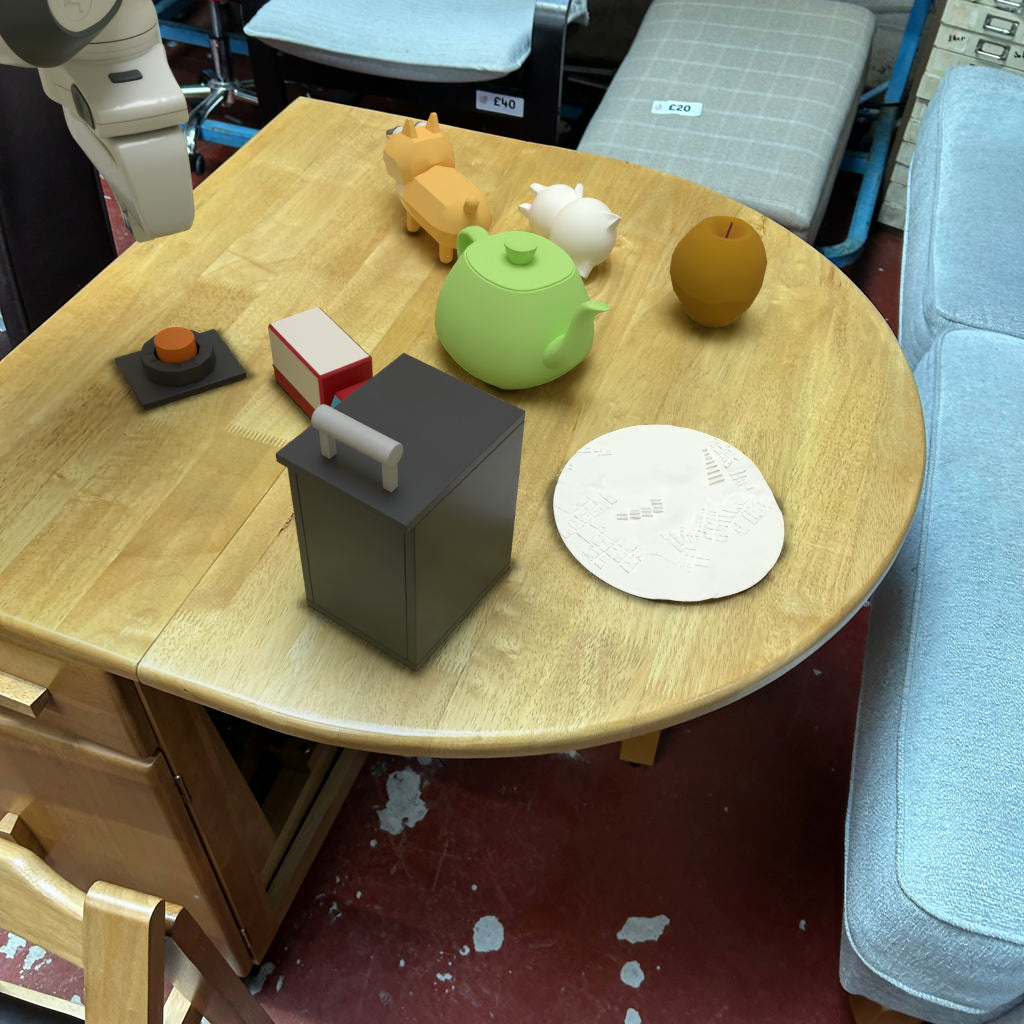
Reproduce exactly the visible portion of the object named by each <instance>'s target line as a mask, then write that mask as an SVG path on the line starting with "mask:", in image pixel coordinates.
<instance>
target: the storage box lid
mask: <svg viewBox="0 0 1024 1024" xmlns="http://www.w3.org/2000/svg"><path fill="white" fill-rule="evenodd" d="M524 420H526V410H525V409H523V408H521V407H518V406H516V405H514V404H512V403H510V402H508V401H507V400H504V399H502V398H501V397H498V396H495V395H493V394H491V393H490V392H487V391H485V390H483V389H481V388H478V387H477V386H474V385H472V384H470V383H468V382H466V381H464V380H462V379H460V378H458V377H456V376H453V375H451V374H450V373H448V372H445V371H443V370H441V369H439V368H437V367H435V366H433V365H431V364H429V363H427V362H424V361H422V360H420V359H418V358H416V357H414V356H412V355H410V354H408V353H406V352H402V353H401V354H400V355H399V356H397V357H396V358H395V359H393V360H392V361H391V362H389V364H387V365H386V366H384V368H382V369H381V370H380V371H378V372H377V373H375V375H373V377H372V378H371V379H370V380H368V381H367V382H366V383H364V384H363V385H362V386H361V387H359V388H358V389H357V390H356V391H354V392H353V393H352V394H350V395H349V396H348V397H347V398H345V399H344V400H343V401H341V402H340V403H339V404H338V405H336V406H335V407H334V408H331V407H329V406H327V405H325V404H323V405H320V406H319V407H317V408H316V410H315V411H314V413H313V415H312V418H310V423H311V424H310V425H309V426H308V427H307V428H306V429H304V430H303V431H302V432H301V433H299V434H298V435H296V436H295V437H294V438H293V439H291V440H290V441H289V442H288V443H286V444H285V445H284V446H283V447H281V448H280V449H279V450H278V451H276V453H275V460H276V463H278V464H280V465H281V466H283V467H286V468H289V469H291V470H292V471H294V472H296V473H298V474H300V475H301V476H303V477H305V478H307V479H308V480H310V481H312V482H314V483H316V484H317V485H319V486H321V487H323V488H325V489H326V490H328V491H330V492H332V493H334V494H335V495H337V496H339V497H341V498H343V499H344V500H346V501H348V502H350V503H352V504H353V505H355V506H357V507H359V508H360V509H362V510H364V511H366V512H368V513H369V514H371V515H373V516H375V517H377V518H378V519H380V520H382V521H384V522H386V523H387V524H389V525H391V526H393V527H395V528H396V529H398V530H400V531H402V532H403V533H405V534H407V533H408V532H409V531H410V530H412V529H413V528H414V527H415V526H416V525H417V524H418V523H419V522H420V521H421V520H422V519H423V518H424V517H425V516H426V515H427V514H428V513H429V512H430V511H431V510H432V509H433V508H434V507H435V506H436V505H437V504H438V503H439V502H440V501H441V500H442V499H443V498H444V497H445V496H446V495H447V494H449V493H450V492H451V491H452V490H453V489H454V488H455V487H456V486H457V485H458V484H459V483H460V482H461V481H462V480H463V479H464V478H465V477H466V476H467V475H468V474H469V473H470V472H471V471H472V470H473V469H474V468H475V467H476V466H477V465H478V464H479V463H480V462H481V461H482V460H483V459H485V458H486V457H487V456H488V455H489V454H490V453H491V452H492V451H493V450H494V449H495V448H496V447H497V446H498V445H499V444H500V443H501V442H502V441H503V440H504V439H505V438H506V437H507V436H508V435H509V434H510V433H511V432H512V431H513V430H514V429H515V428H516V427H517V426H518V425H519V424H520V423H522V422H523V421H524Z"/></svg>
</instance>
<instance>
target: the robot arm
mask: <svg viewBox="0 0 1024 1024" xmlns="http://www.w3.org/2000/svg"><path fill="white" fill-rule="evenodd" d="M159 23H160V22H159V19H158V13H157V10H156V7H155V4H154V2H153V0H0V65H7V66H12V67H18V68H19V67H20V68H26V69H37V71H38V75H39V78H40V81H41V82H40V83H41V86H42V89H43V92H44V93H45V95H46V96H47V97H48V98H49V99H51V100H52V101H53V102H56V103H57V104H59V105H61V106H62V112H63V115H64V120H65V122H66V125H67V128H68V130H69V132H70V135H71V137H72V138H73V139H74V140H75V142H76V143H77V144H78V146H79V147H80V148H81V150H82V151H83V153H84V154H85V155H86V157H87V158H88V159H89V161H90V162H91V163H92V164H93V166H94V167H95V169H96V170H97V171H98V172H99V175H101V177H102V178H103V180H104V181H105V182H106V184H107V185H108V186H109V188H110V189H111V191H112V193H113V196H114V198H115V201H116V203H117V206H118V207H119V210H120V215H121V219H122V223H123V225H124V226H125V228H126V229H127V231H129V233H130V234H131V235H132V237H133V238H134V240H135V241H136V242H137V243H139V244H141V243H145V242H150V241H154V240H155V239H158V238H162V237H168V236H173V235H176V234H180V233H184V232H187V231H189V230H191V229H192V227H193V225H194V221H195V216H196V210H195V199H194V189H193V179H192V173H191V164H190V157H189V151H188V146H187V141H186V138H185V134H184V132H183V130H182V129H183V128H182V127H181V125H182V124H187V123H188V122H189V119H190V117H189V109H188V104H187V103H188V102H187V99H186V97H185V94H184V92H183V91H182V88H181V86H180V85H179V82H178V81H177V79H176V77H175V75H174V73H173V71H172V69H171V67H170V65H169V62H168V57H167V51H166V48H165V45H164V44H163V40H162V34H161V29H160V24H159Z"/></svg>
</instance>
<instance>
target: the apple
mask: <svg viewBox="0 0 1024 1024" xmlns="http://www.w3.org/2000/svg"><path fill="white" fill-rule="evenodd" d="M766 251H767V250H766V248H765V244H764V241H763V239H762V237H761V235H760V233H759V232H758V230H756V229H755V228H754V227H753V225H751V223H748V222H747V221H745V220H744V219H742V218H738V217H734V216H730V215H729V216H728V215H712V216H709V217H705V218H703V219H702V220H701V221H699V222H698V223H697V224H695V225H694V226H692V228H691V229H689V230H688V231H687V233H686V234H685V235H684V236H683V237H682V238H681V239H680V240H679V241H678V242H677V244H676V246H675V248H674V250H673V252H672V254H671V258H670V266H669V276H670V281H671V286H672V290H673V292H674V293H675V295H676V297H677V299H678V300H679V303H680V304H681V307H683V310H684V311H685V313H686V314H687V315H688V316H689V317H690V318H691V319H692V320H693V321H694V322H696V323H697V324H698V325H700V326H702V327H705V328H722V327H723V328H724V327H726V326H728V325H730V324H733V323H734V322H735V321H736V320H737V319H739V318H740V317H741V316H742V315H743V314H745V313H746V311H749V309H750V308H751V306H752V305H753V303H754V302H755V300H756V299H757V297H758V295H759V293H760V291H761V290H762V287H763V284H764V279H765V276H766V271H767V266H768V258H767V252H766Z"/></svg>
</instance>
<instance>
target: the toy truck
mask: <svg viewBox="0 0 1024 1024" xmlns="http://www.w3.org/2000/svg"><path fill="white" fill-rule="evenodd" d="M267 330H268V338H269V345H270V352H271V358H272V367H273V372H274V373H273V374H274V379H275V381H276V382H277V383H278V384H279V385H280V386H281V387H282V388H283V389H284V391H285V392H286V393H287V394H288V395H289V396H290V397H291V398H292V399H293V401H295V403H296V404H297V405H298V406H299V407H300V408H301V409H302V410H303V411H304V412H305V413H306V415H307V416H308V417H309V418H310V419H311V418H312V415H313V413H314V411H315V410H316V408H317V407H319V406H320V405H323V404H325V405H327V406H329V407H331V408H334V407H335V406H336V405H338V404H339V403H340V402H341V401H343V400H344V399H345V398H347V397H348V396H349V395H350V394H352V393H353V392H354V391H356V390H357V389H358V388H359V387H361V386H362V385H363V384H364V383H366V382H367V381H368V380H370V379H371V378H372V377H373V376H374V372H373V357H372V356H371V355H370V354H369V353H368V352H367V351H366V350H365V349H364V348H363V347H362V346H361V345H360V344H359V343H358V342H356V341H355V340H354V339H353V337H351V336H350V335H349V334H348V333H347V332H346V331H345V330H344V329H343V328H342V327H341V326H340V325H339V324H338V323H337V322H335V320H334V319H332V318H331V316H330V315H329V314H328V313H326V312H325V311H324V310H323V309H322V308H321V307H319V306H316V307H312V308H310V309H307V310H304V311H302V312H298V313H295V314H293V315H290V316H288V317H284V318H282V319H280V320H277V321H273V322H270V323H269V324H268V326H267Z"/></svg>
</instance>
